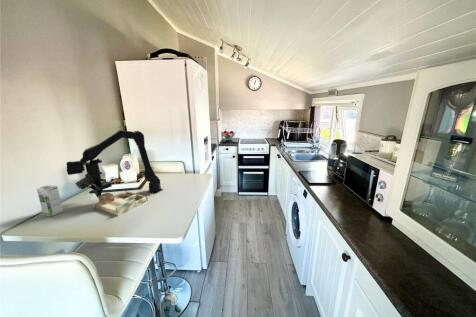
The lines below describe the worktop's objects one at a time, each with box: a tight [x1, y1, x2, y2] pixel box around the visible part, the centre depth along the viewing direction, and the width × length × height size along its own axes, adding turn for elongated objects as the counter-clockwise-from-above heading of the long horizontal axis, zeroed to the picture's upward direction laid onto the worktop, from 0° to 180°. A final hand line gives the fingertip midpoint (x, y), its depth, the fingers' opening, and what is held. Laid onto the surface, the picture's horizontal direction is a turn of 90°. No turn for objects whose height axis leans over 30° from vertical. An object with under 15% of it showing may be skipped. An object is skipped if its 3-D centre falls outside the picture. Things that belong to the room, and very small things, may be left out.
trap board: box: [94, 190, 149, 217], centre depth 107 cm, size 18×19×4 cm
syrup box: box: [36, 184, 64, 217], centre depth 96 cm, size 6×6×14 cm
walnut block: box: [97, 191, 115, 204], centre depth 104 cm, size 5×5×4 cm
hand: (98, 197), depth 108 cm, fingers closed
